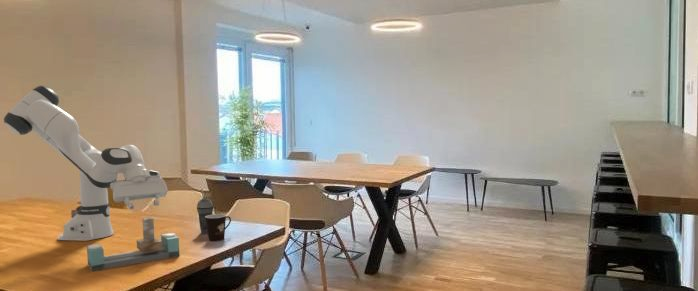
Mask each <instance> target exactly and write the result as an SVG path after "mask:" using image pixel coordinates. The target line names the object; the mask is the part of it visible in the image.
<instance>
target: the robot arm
mask: <svg viewBox="0 0 698 291" xmlns="http://www.w3.org/2000/svg"><path fill="white" fill-rule="evenodd" d="M59 100H60V98H59V96H58V95H57V93H56V92H55V91H54V90H53V89H51V88H49V87H47V86H45V85H39V86H36V87H34V88H33V89H32V90H31V91H30V92H29V93H27V94H25V96H23V97H21V99H20V100H19V101H18V102H17V104H15V105H14V106H13V107H12V109H10V111H8V112H7V113H6V114H5V115H4V118H3V122H4V124H5V126H6V127H7V129H9V130H10V131H11V132H12V133H15V134H18V135H20V136H21V135H22V136H23V135H27V134H28V133H30V132H33V133H35V134H36V136H38V137H39V138H40V139H41V140H42V141H44V142H45V143H46V144H47V145H49V146H50V147H51V148H52V149H54V150H55V151H56V152H58V153H59V154H60V155H61V156H63V157H64V158H65V159H67V160H68V161H69V162H71V163H72V164H73V165H74V166H75V167H76V168H77V169H79V198H80V205H79V206H77V207H75V209H74V210H75V211H77V215H76V216H74V217H73V218H72V217H71V219H69V220H68V221H66V223H65V224H64V225H63V229H62V230H63V231H62V233H61V234H60V235H58V236H57V241H80V242H81V241H82V242H85V241H86V242H87V241H88V242H89V241H91V240H96V239H101V238H107V237H110V236H112V235H114V234H115V232H114V229H113V226H112V223H111V217H110V216H111V209H110V208H111V207H110V203H109V192H108V188H110V190H112V197H113V201H114V202H115V203H121V202H123V203H124V204H125V205H127V207H128V209H129V210H133V209H134V208H135V206H134V202H131V201H138V200H146V199H154V198H155V199H154V201H153V205H154V206H155V207H156V206H159V204H160V202H159V200H160V198H163V197H166V196H167V194H168V191H169V189H168V186H167V183H166V182H165V179H164V178H162V177H161V172H159V171H155V170H151V169H150V170H149V169H147V168H146V167H145V160H144V157H143V154H142V152H141V151H140V149H139V148H138V147H137V146H136V145H133V144H126V145H123V146H121V147H108V148H105V149H104V150H102V151H100V150H99V149H97V148H96V147H95V146H93V145H92V144H91V143H90V142H88V140H86V139H85V138H84V137H83V136H82V135H81V134H80V127H79V123H78V121H77V120H76V119H75V118H74V117H73V115H71V114H69V113H68V112H66V111H65V110H64V109H62V108H60V107H59V106H58V105H59V103H60V102H59ZM120 174H123V178H124V179H121V180H120V179H119V180H117V179H118V177H119V175H120Z"/></svg>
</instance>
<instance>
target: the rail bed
mask: <svg viewBox="0 0 698 291" xmlns="http://www.w3.org/2000/svg"><path fill="white" fill-rule="evenodd" d="M179 239H180V238H179V237H178V236H177V235H176V233H172V232H169V233H162V234H160V240H161V241H162V249H161V250H155V251H150V252H144V253H142V252H141V251H140V250H139V249H138V250H134V251H127V252H120V253H115V254H109V255H105V251H104V248H103V246H102V245H103V244H99V243H96V244H90V245H86V253H87V255H86V256H87V266H88V265H89V266H88V267H89V269H90V271H91V270H92V271H91V272H97V271H102V269H103V270H106V269H107V270H108V268H109V269H114V268H113V267H115V268H119V267H118V266H120V267H124V266H125V265H126V266H131V265H136V263H137V264H141V263H142V262H143V263H146V262H152V261H153V262H154V261H158V260H164V259H165V260H166V259H169V258H175V257H176V258H177V257H180V256H181V255H180V254H181V253H180V240H179ZM143 263H142V264H143ZM130 264H131V265H130ZM126 266H125V267H126Z"/></svg>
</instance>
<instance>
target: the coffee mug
mask: <svg viewBox="0 0 698 291" xmlns="http://www.w3.org/2000/svg"><path fill="white" fill-rule="evenodd" d="M227 218H228V219H229V221H228V223H227V225H226V221H227V220H226V219H227ZM205 219H206V225H207V231H208V234H207V236H208V241H210V242H220V241H224V240H225V234H226V230H227V228H228V227H229V226H230V224H231V222H232V219H231V216H227V214H224V213H223V214H222V213H217V214H216V213H215V214H213V213H212V215H208V216H205Z"/></svg>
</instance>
